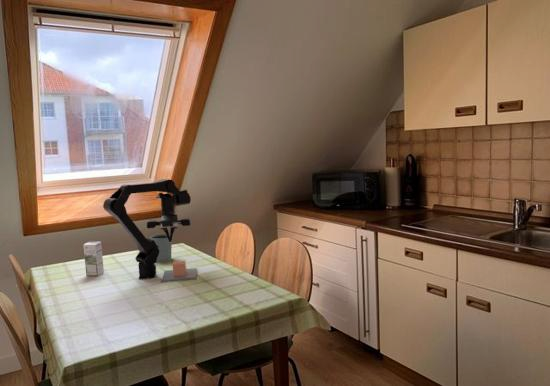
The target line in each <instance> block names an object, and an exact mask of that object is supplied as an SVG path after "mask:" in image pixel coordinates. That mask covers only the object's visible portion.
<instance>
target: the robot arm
mask: <svg viewBox="0 0 550 386" xmlns="http://www.w3.org/2000/svg"><path fill="white" fill-rule="evenodd" d="M151 192H158V194H157V195H156V196H155V198H156V199H160V204H161V205H160V207H161V216H160V217H161V219H160V220H161V221H160V220H159V221H158V219H149V220H148V221H147V222H146V228H147V229H155V227H157V226H160V230H163V232H164V233H165V234H166V235H167V237H168V240H169V242H171V241H172V240H173V236H174V232H175V230H176V229H178V227H179V225H181V226H183V227H188V226H191V223H192V221H191V218H190V217H181V218H180V219H178V214H176V209H175V208H176V207H179V206H185V205H189V204H190V203H191V201H192V199H191V196H190V194H189V192H188V189H182V190H179V188H178V187H177V186H176V183H175V181H174V180H173V179H168V178H161V179H157V180H155V181H152V182H143V183H134V184H133V183H132V184H122V185H121V186H120V187H119V188H117V190H116V191H115V192H113V194H111V195H110V197H108V198H106V199H105V200H104V202H103V205H102V207H103V209H104V211H106V212H107V213H108V214H109V215H110V216H112V217H113V218H114V219H116V220H117V221H118V222H119V223H120V225H121V226H122V227H123V229H124V230H126V232H127V233H128V234H129V236H130V237H131V239H132V240H133V241H134V242H135V243H136V246H137V250H138V251H139V252H138V254H137V255H136V257H135V261H136V262H137V263H138V265H137V266H138V276H139V277H138V279H139V280H141V279H142V280H143V279H153V278H155V277H156V276H157V265H156V263H157V262H156V261H157V257H158V255H159V252H160V251H159V249H158V247H159V246H157V245H156V243H155V241H154V240H151V238H147V237H145V235H144V234H143V232H142V231H141V230H140V229H139V227H138V226H137V225H136V223H135V222H134V221H133V220H132V218H131V216H129V215H128V212H127V208H126V207H125V205H126V203H127V202H128V200H129V198H130V196H131V195H132V194H140V193H142V194H143V193H151ZM175 206H176V207H175ZM169 227H170V228H169ZM169 229H170V230H169ZM172 242H173V241H172Z"/></svg>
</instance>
